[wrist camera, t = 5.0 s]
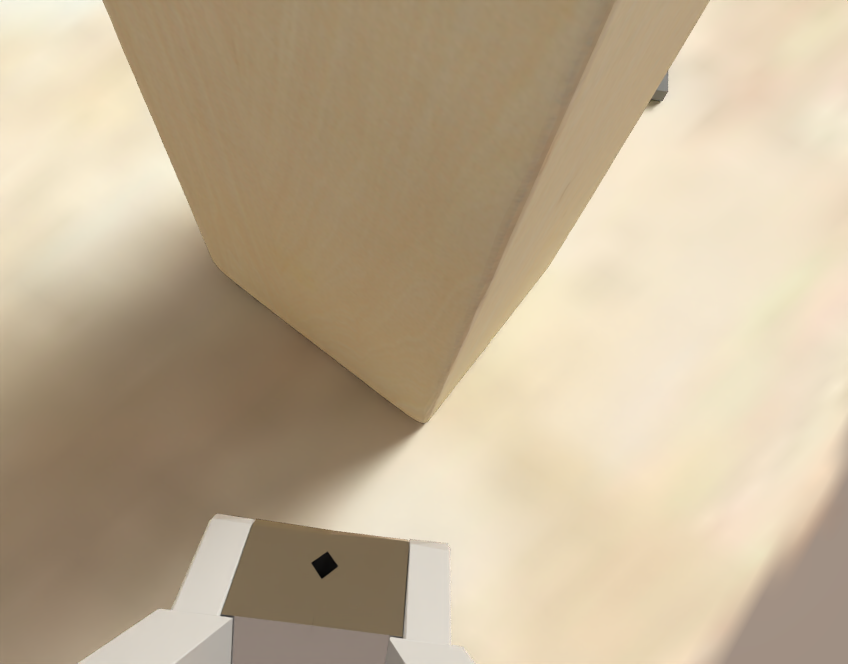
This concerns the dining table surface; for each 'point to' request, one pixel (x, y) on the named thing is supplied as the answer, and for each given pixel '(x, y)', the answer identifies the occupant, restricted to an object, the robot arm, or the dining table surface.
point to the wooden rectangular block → (395, 155)
